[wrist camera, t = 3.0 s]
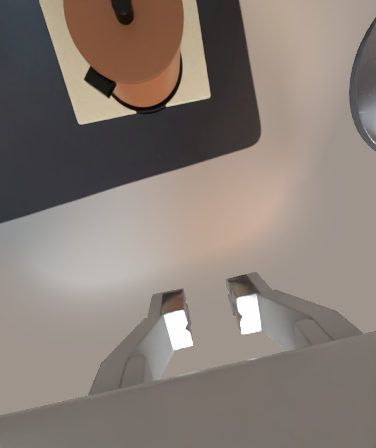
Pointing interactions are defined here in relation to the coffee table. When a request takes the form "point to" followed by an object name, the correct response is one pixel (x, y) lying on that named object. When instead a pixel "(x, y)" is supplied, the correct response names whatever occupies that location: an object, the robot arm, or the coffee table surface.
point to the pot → (128, 46)
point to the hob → (109, 108)
